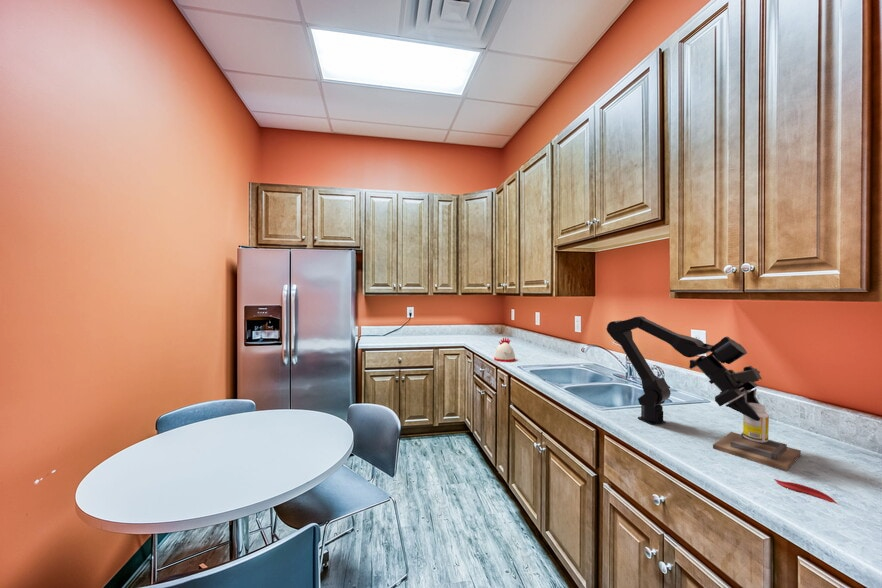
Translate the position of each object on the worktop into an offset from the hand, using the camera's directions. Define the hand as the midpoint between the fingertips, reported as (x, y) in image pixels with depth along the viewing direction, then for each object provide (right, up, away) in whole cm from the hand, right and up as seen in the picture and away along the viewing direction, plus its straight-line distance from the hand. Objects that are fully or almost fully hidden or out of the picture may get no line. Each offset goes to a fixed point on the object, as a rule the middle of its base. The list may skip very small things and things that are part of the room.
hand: (761, 418), depth 101 cm
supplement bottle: (-1, -7, +1) cm, 7 cm away
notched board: (-1, -10, +1) cm, 10 cm away
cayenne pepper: (-8, -11, -19) cm, 23 cm away
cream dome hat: (-51, -8, +133) cm, 143 cm away
